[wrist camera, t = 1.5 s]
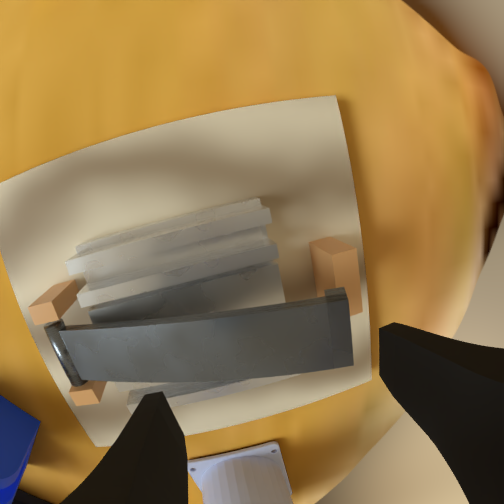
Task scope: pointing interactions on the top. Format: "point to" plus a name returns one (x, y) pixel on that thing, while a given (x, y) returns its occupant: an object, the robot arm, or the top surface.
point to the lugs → (326, 277)
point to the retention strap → (210, 344)
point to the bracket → (14, 447)
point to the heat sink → (183, 280)
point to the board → (186, 201)
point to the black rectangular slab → (26, 498)
